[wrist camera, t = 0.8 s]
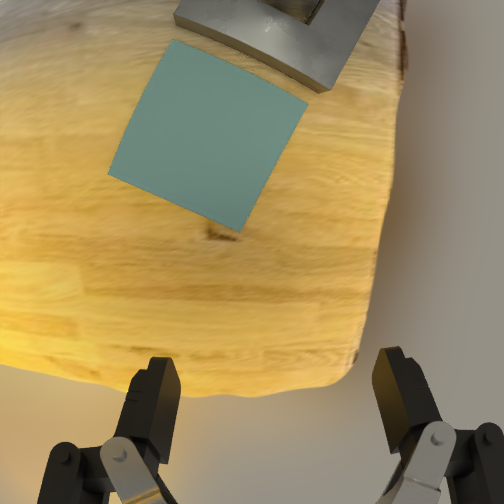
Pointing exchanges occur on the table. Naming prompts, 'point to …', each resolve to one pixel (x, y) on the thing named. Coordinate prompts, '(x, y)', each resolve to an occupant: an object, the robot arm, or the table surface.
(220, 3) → the collar block
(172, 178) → the rubber mat
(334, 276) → the table surface
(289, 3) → the tumbler with black lid
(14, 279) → the table surface
